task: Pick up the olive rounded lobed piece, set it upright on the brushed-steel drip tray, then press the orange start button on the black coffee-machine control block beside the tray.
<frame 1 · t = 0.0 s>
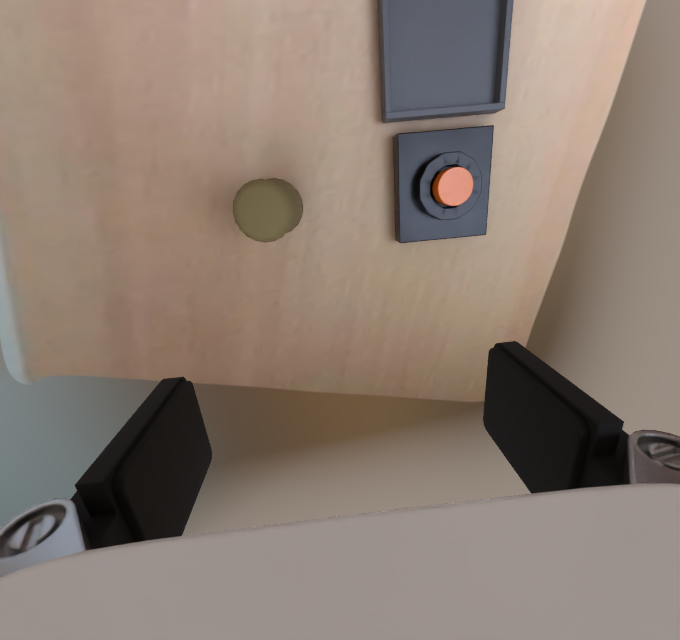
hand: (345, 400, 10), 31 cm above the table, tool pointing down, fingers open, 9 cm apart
control block: (437, 187, 38), on the table
drip tray: (440, 29, 33), on the table
olive rounded lobed piece: (276, 207, 38), on the table
start button: (452, 186, 34), point 4 cm above the table, slide at 0.1 cm
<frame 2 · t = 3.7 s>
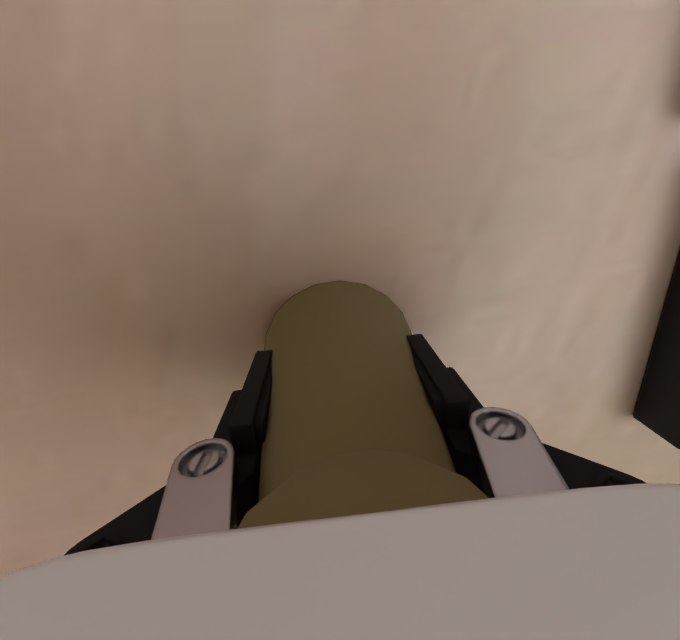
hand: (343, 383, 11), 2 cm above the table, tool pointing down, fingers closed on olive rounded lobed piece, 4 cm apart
olive rounded lobed piece: (338, 351, 14), on the table, touching gripper
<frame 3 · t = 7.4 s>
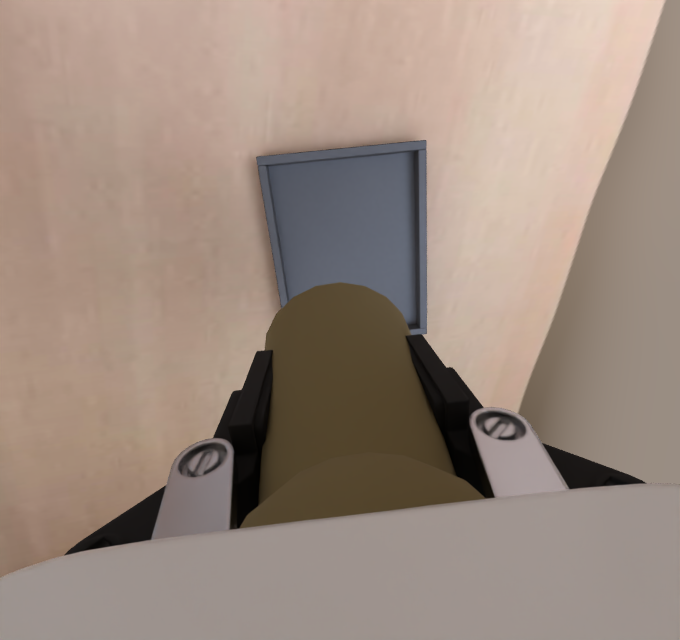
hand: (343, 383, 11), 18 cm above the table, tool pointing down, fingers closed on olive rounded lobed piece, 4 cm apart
drip tray: (348, 251, 28), on the table
olive rounded lobed piece: (338, 352, 14), point 16 cm above the table, touching gripper
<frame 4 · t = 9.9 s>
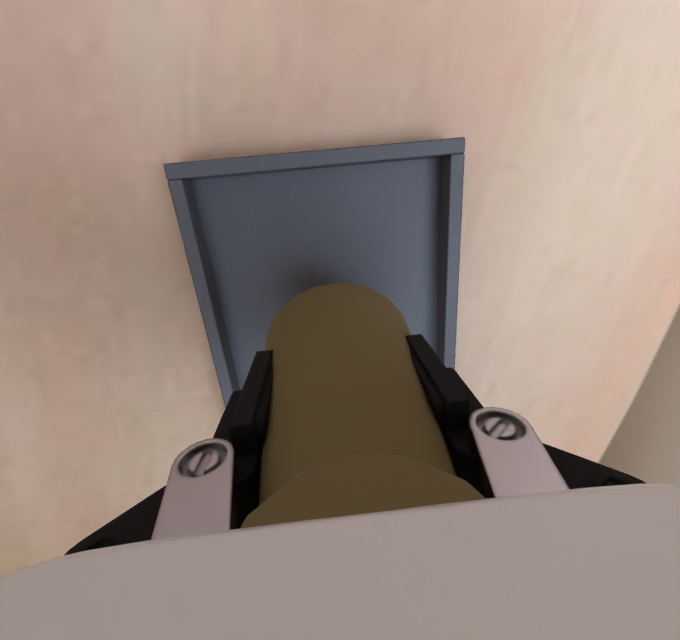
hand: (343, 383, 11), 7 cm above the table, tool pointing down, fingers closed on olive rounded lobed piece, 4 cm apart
drip tray: (332, 310, 18), on the table
olive rounded lobed piece: (339, 352, 14), point 5 cm above the table, touching gripper
when the fingers open (3 cm above the table, at t = 11.3 s): olive rounded lobed piece stays where it is, resting on drip tray.
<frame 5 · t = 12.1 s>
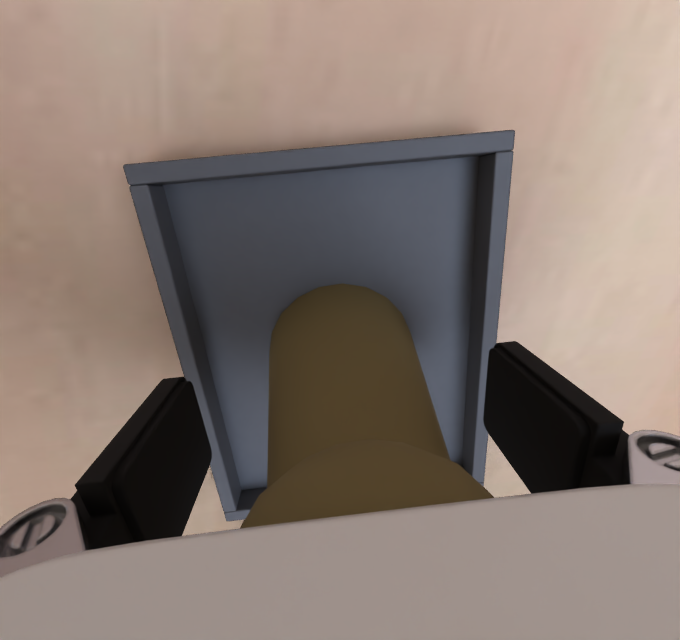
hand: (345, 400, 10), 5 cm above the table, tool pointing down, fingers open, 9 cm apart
drip tray: (339, 343, 15), on the table
olive rounded lobed piece: (341, 350, 14), point 1 cm above the table, touching drip tray
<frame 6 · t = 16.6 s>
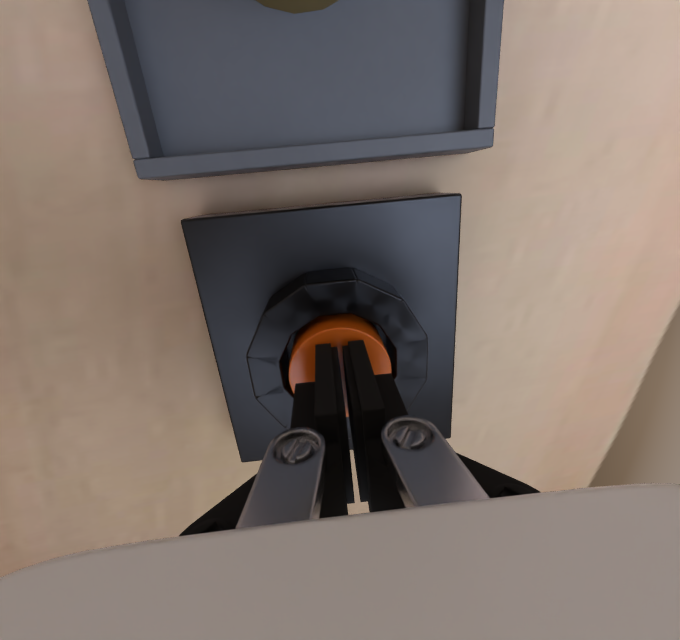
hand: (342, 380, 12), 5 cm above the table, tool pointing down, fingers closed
control block: (334, 326, 16), on the table
start button: (339, 363, 12), point 4 cm above the table, slide at -0.8 cm, touching gripper
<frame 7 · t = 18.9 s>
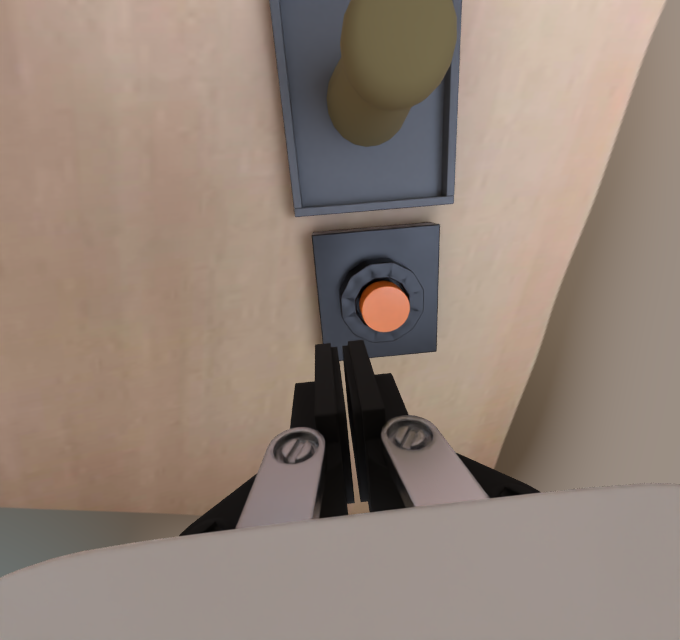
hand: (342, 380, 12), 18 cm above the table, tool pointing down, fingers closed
control block: (374, 290, 30), on the table
drip tray: (366, 101, 25), on the table
olive rounded lobed piece: (368, 100, 24), point 1 cm above the table, touching drip tray
start button: (383, 306, 25), point 4 cm above the table, slide at 0.1 cm
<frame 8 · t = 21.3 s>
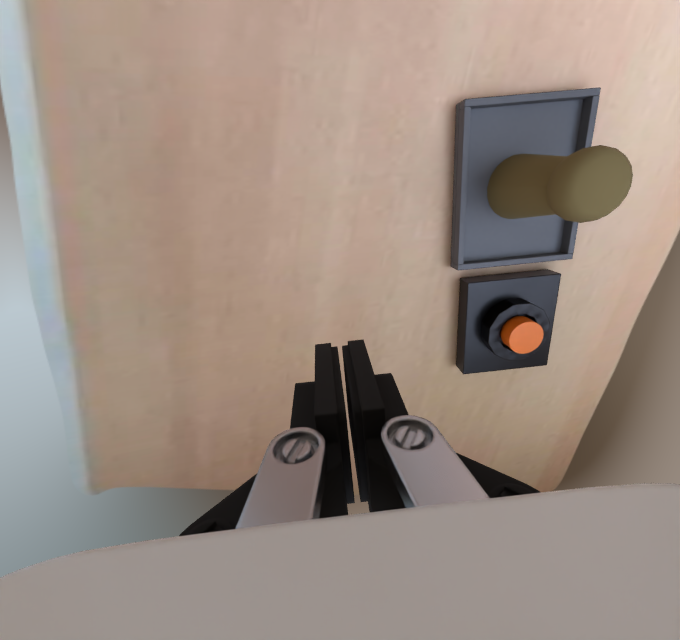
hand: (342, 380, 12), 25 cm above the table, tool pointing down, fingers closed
control block: (499, 319, 39), on the table
drip tray: (512, 186, 34), on the table
olive rounded lobed piece: (515, 187, 33), point 1 cm above the table, touching drip tray
start button: (521, 334, 35), point 4 cm above the table, slide at 0.1 cm
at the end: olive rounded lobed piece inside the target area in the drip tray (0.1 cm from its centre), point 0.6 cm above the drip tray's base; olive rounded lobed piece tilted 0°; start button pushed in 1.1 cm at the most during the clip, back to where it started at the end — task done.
